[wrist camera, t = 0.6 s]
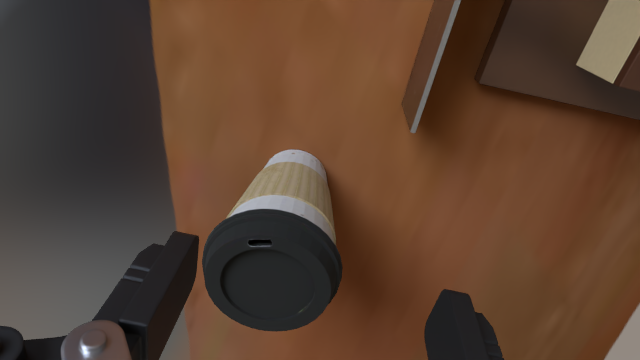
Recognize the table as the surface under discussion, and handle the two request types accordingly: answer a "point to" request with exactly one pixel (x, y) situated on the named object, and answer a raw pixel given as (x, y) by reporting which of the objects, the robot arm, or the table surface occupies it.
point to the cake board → (551, 55)
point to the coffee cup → (276, 248)
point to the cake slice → (615, 45)
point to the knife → (428, 59)
